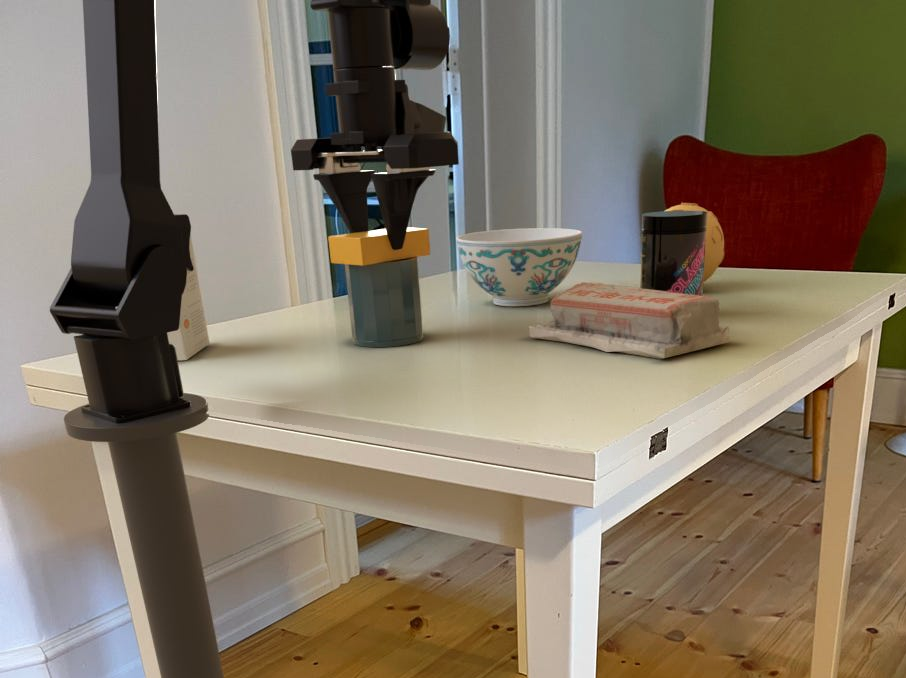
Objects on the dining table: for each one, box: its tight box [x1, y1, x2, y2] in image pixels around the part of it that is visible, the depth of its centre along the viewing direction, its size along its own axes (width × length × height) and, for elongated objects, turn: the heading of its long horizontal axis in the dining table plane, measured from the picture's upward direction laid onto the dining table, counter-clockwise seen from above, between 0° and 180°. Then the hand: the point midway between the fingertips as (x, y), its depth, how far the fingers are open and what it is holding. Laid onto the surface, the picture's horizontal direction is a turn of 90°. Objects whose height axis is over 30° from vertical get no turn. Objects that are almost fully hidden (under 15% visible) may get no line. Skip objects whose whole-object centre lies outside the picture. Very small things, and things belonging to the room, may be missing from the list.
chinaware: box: [455, 227, 583, 307], centre depth 120 cm, size 15×15×8 cm
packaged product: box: [528, 282, 731, 360], centre depth 96 cm, size 18×5×10 cm
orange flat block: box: [327, 227, 431, 266], centre depth 99 cm, size 9×5×2 cm, turn 136°
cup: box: [344, 257, 424, 348], centre depth 101 cm, size 7×7×8 cm
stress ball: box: [664, 202, 726, 284], centre depth 122 cm, size 10×10×10 cm
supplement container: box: [639, 210, 707, 296], centre depth 105 cm, size 7×7×10 cm
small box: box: [116, 232, 211, 362], centre depth 99 cm, size 8×6×13 cm
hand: (380, 248), depth 99 cm, fingers closed on orange flat block, 5 cm apart
